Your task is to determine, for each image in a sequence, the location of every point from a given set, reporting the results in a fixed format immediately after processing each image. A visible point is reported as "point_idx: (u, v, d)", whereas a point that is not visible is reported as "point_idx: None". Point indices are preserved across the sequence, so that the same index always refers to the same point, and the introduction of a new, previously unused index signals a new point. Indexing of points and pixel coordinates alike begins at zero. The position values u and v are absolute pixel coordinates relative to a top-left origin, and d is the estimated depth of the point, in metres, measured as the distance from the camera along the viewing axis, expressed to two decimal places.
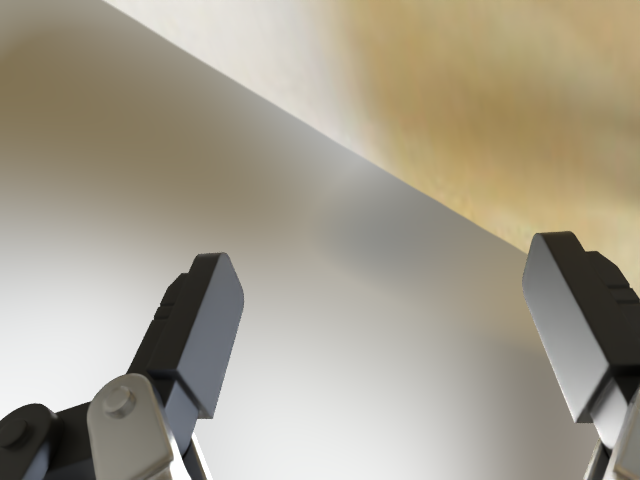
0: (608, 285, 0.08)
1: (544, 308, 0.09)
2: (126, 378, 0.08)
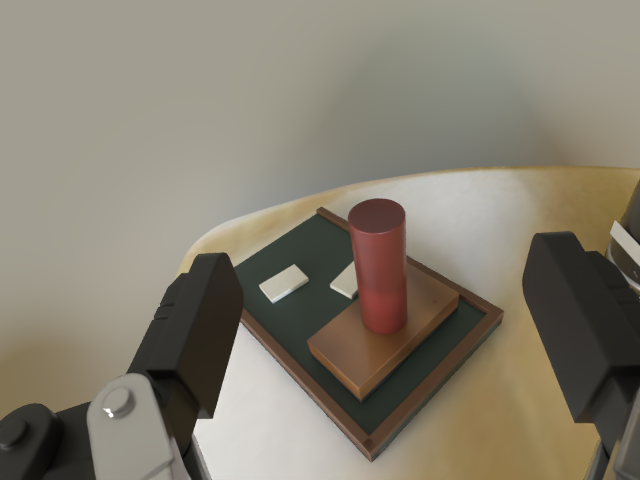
0: (608, 285, 0.08)
1: (544, 308, 0.09)
2: (126, 378, 0.08)
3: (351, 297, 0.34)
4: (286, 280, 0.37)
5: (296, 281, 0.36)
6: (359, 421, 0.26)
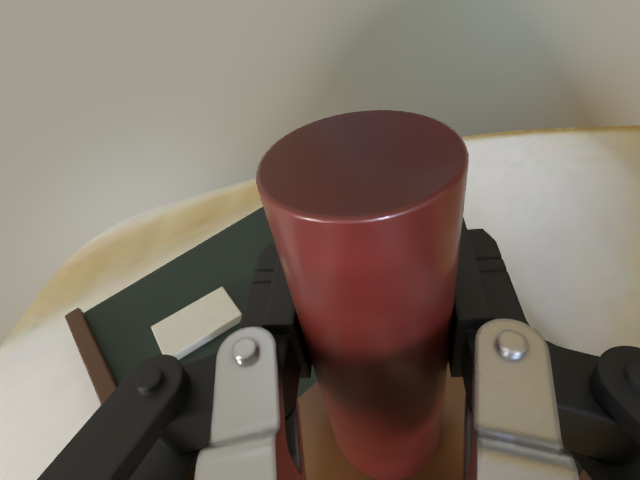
0: (483, 257, 0.09)
1: None
2: (246, 332, 0.08)
3: None
4: (201, 318, 0.20)
5: (219, 321, 0.19)
6: None
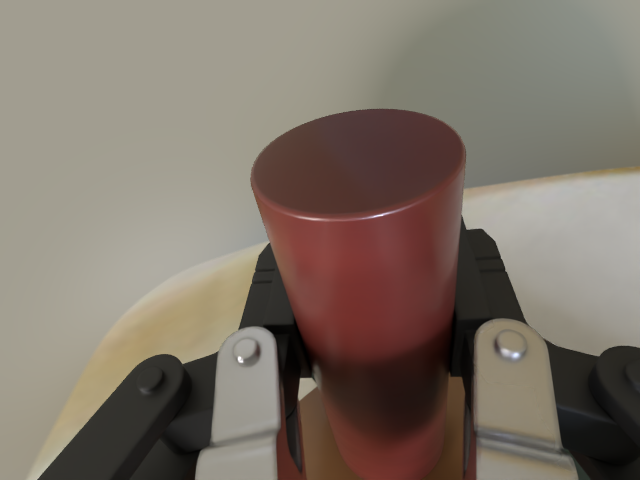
0: (483, 257, 0.09)
1: None
2: (247, 332, 0.08)
3: None
4: None
5: None
6: None
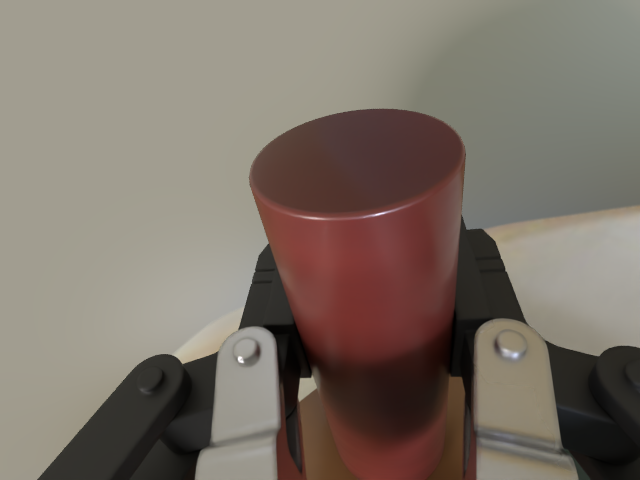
0: (483, 257, 0.09)
1: None
2: (247, 332, 0.08)
3: None
4: None
5: None
6: None
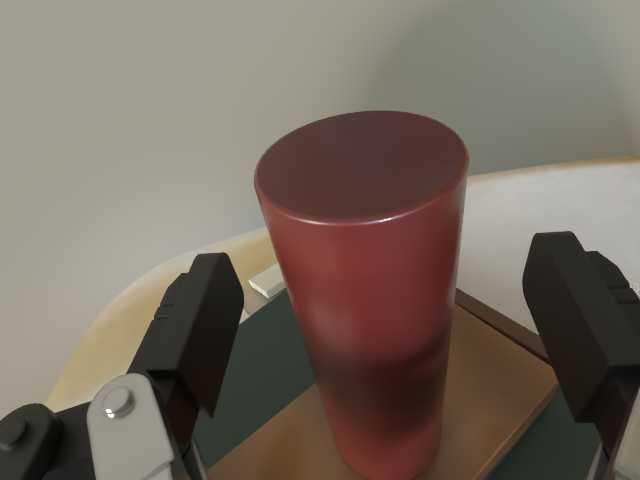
0: (608, 285, 0.08)
1: (544, 308, 0.09)
2: (126, 378, 0.08)
3: (267, 295, 0.21)
4: None
5: None
6: None
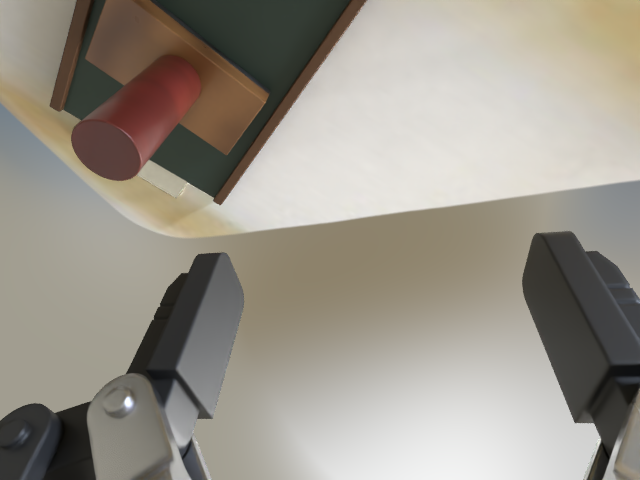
0: (608, 285, 0.08)
1: (544, 308, 0.09)
2: (126, 378, 0.08)
3: None
4: (159, 176, 0.36)
5: (156, 166, 0.35)
6: None
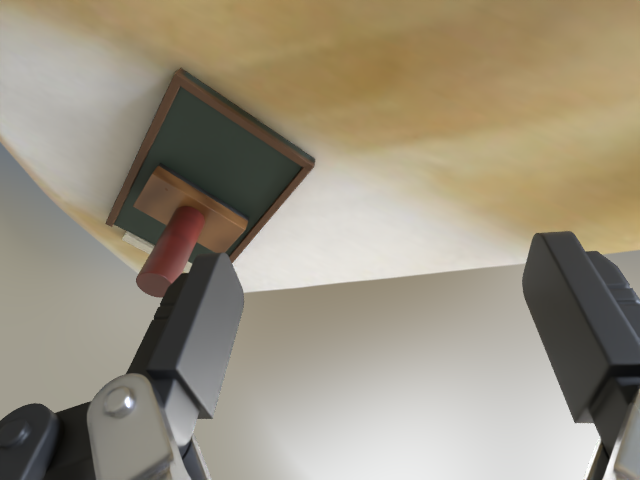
0: (608, 285, 0.08)
1: (544, 308, 0.09)
2: (126, 378, 0.08)
3: None
4: None
5: None
6: (294, 172, 0.41)
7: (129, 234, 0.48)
